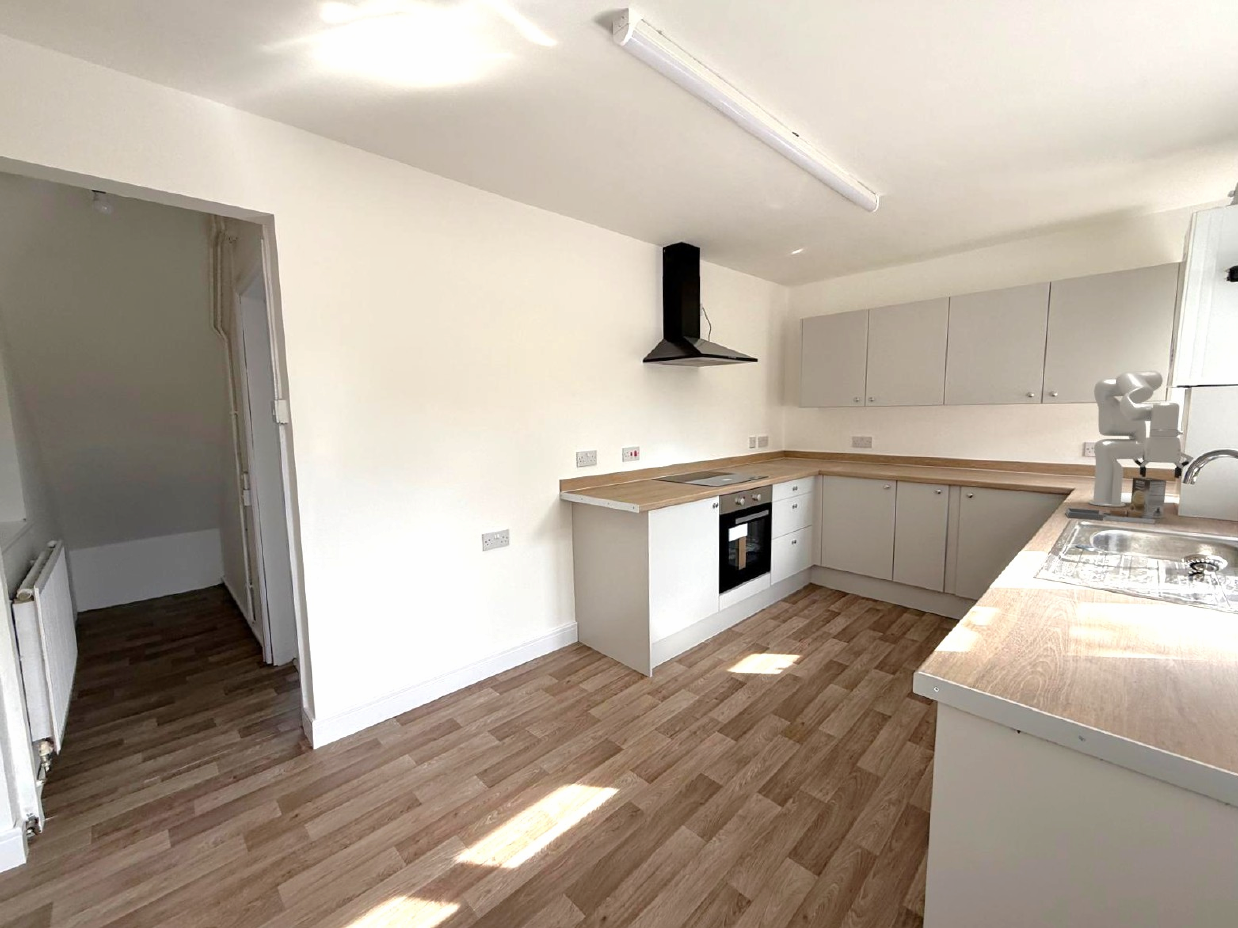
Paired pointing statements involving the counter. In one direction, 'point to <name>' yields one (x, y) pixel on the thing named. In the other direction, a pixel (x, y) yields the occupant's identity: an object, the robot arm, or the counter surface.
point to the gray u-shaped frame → (1083, 514)
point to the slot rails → (1129, 518)
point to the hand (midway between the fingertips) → (1159, 477)
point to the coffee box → (1148, 496)
